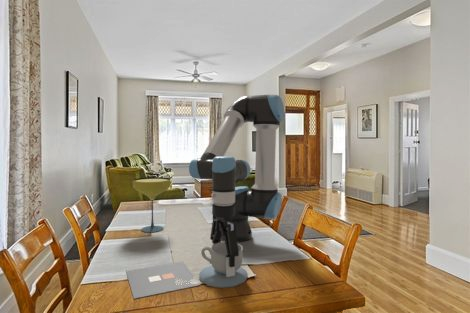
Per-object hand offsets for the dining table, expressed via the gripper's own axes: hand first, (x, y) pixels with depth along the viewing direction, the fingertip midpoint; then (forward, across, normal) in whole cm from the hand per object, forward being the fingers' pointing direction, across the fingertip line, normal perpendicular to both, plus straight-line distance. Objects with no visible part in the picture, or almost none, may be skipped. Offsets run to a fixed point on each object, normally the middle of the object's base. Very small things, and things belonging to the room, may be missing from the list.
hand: (223, 268), depth 103 cm
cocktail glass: (+3, -62, -12) cm, 63 cm away
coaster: (+3, 0, 0) cm, 3 cm away
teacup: (+1, -1, 0) cm, 1 cm away
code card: (+2, -7, -19) cm, 20 cm away
